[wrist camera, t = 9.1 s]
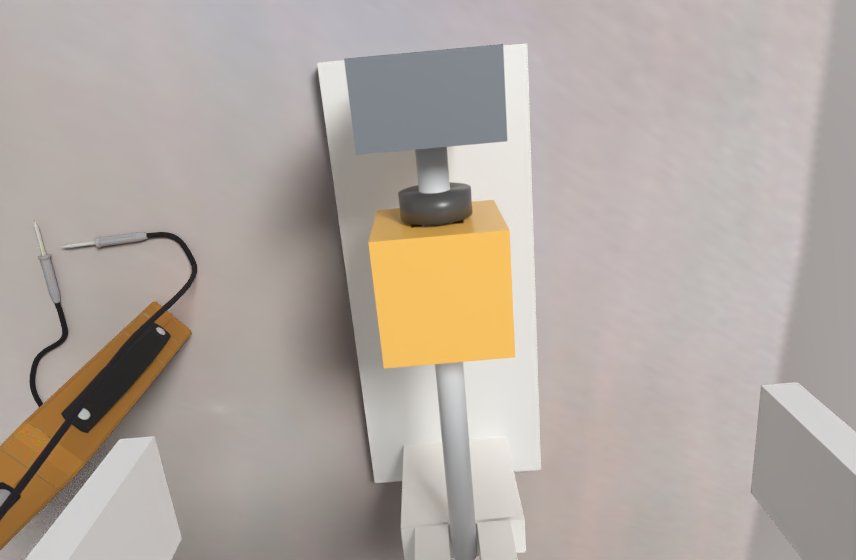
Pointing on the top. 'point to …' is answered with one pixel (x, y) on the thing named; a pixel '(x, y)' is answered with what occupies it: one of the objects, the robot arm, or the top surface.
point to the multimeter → (83, 399)
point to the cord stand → (430, 206)
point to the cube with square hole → (443, 288)
